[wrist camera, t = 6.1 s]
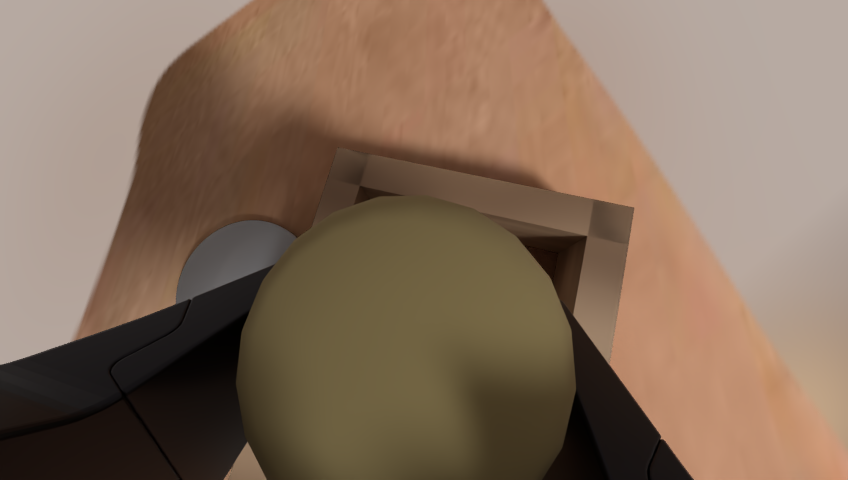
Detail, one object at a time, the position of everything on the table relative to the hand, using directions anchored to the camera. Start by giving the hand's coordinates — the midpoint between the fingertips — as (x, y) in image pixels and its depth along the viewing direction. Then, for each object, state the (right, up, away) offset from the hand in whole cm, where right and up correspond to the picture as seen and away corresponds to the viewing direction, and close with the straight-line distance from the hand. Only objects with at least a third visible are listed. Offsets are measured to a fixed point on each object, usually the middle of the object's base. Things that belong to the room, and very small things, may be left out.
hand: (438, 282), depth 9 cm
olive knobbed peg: (0, -3, +6) cm, 7 cm away
